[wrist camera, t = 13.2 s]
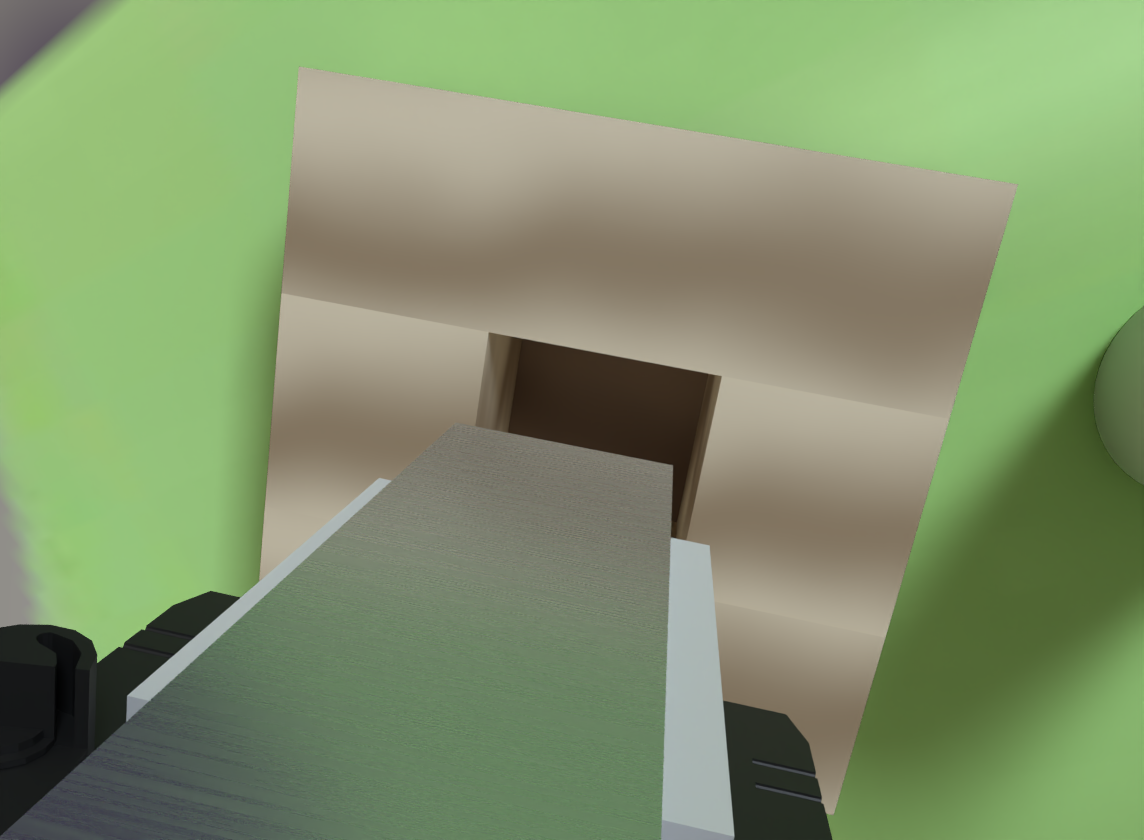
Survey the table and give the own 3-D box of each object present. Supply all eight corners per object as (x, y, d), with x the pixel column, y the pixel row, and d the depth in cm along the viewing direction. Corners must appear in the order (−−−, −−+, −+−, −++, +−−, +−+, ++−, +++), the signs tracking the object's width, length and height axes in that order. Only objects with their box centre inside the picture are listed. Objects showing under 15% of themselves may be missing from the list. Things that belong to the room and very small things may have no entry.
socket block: (388, 101, 25) (298, 66, 19) (935, 192, 24) (1018, 184, 18) (338, 588, 29) (251, 681, 23) (802, 689, 28) (833, 815, 22)
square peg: (455, 422, 15) (-252, 1063, 4) (673, 465, 15) (644, 1319, 3) (428, 619, 16) (-193, 1607, 5) (632, 663, 16) (502, 1842, 4)
